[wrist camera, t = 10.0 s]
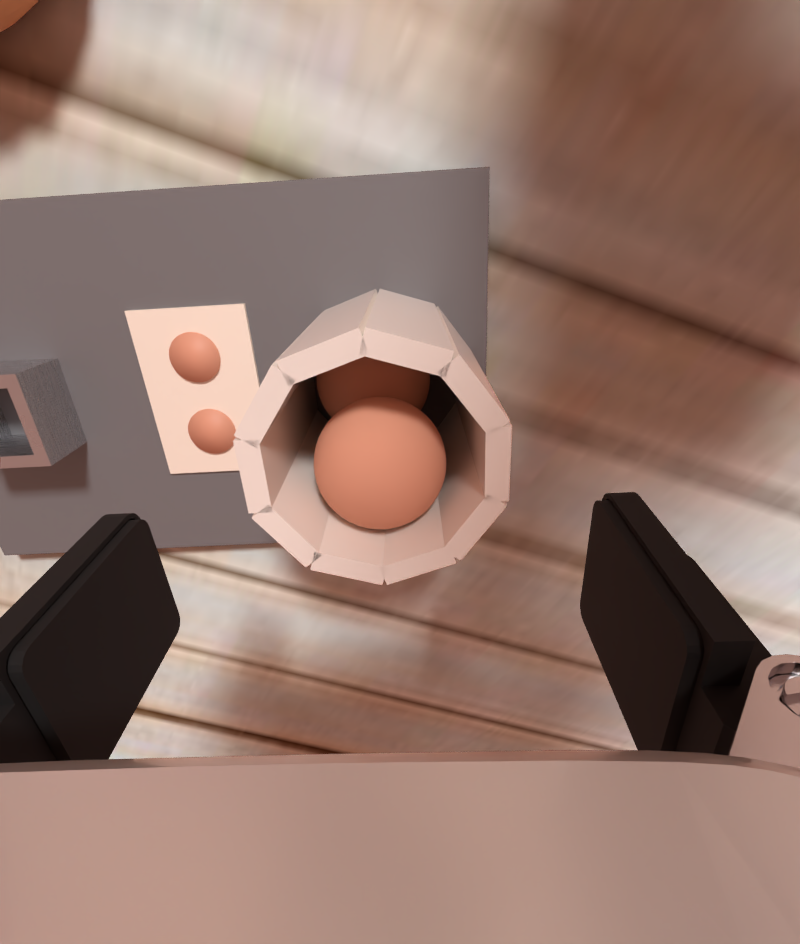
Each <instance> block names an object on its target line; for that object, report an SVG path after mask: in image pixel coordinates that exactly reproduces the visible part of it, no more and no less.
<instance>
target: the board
mask: <svg viewBox="0 0 800 944" xmlns="http://www.w3.org/2000/svg"><path fill="white" fill-rule="evenodd" d="M488 224H489V167H481V168H466V169H451V170H436V171H421V172H407V173H392V174H377V175H362V176H347V177H333V178H318V179H303V180H288V181H273V182H258V183H244V184H229V185H214V186H199V187H184V188H169V189H155V190H140V191H125V192H110V193H95V194H80V195H66V196H51V197H36V198H21V199H6V200H0V361H16V360H33V359H50V358H58V360H59V363H60V366H61V369H62V372H63V374H64V377H65V380H66V383H67V386H68V389H69V391H70V394H71V397H72V400H73V403H74V406H75V409H76V411H77V414H78V417H79V420H80V423H81V426H82V428H83V431H84V434H85V437H86V440H87V442H86V443H85V444H83V445H82V446H80V447H79V448H77V449H76V450H74V451H73V452H71V453H70V454H68V455H67V456H65V457H64V458H62V459H61V460H59V461H58V462H57V463H55V464H54V465H52V466H42V467H22V468H2V469H0V547H1V549H2V551H3V553H4V555H22V554H44V553H66V552H67V551H68V550H69V549H70V548H71V547H72V546H73V545H74V544H75V543H76V542H77V541H78V540H79V539H80V538H81V537H82V536H83V535H84V534H85V533H86V532H87V531H88V530H89V529H90V528H91V527H92V526H93V525H94V524H95V523H96V522H97V521H98V520H99V519H100V518H101V517H102V516H104V515H106V514H123V513H135V514H137V515H138V516H139V517H140V519H143V520H145V521H146V522H147V523H148V525H149V527H150V530H151V533H152V536H153V539H154V542H155V545H156V548H174V547H196V546H218V545H240V544H261V543H278V542H277V541H276V540H275V539H274V538H273V537H272V536H270V535H269V534H268V533H267V532H266V531H265V530H264V529H263V528H262V527H261V526H260V525H258V524H257V523H256V522H255V521H254V520H253V519H252V516H253V514H254V513H248V508H247V504H246V499H245V494H244V490H243V485H242V481H241V476H240V471H239V467H238V462H237V458H236V453H235V448H234V444H233V440H234V439H235V438H236V437H235V436H234V434H235V432H236V430H237V428H238V426H239V424H240V423H241V421H242V419H243V417H244V415H245V413H246V411H247V410H248V408H249V406H250V404H251V402H252V400H253V398H254V396H255V395H256V393H257V391H258V389H259V387H260V385H261V383H262V381H263V380H264V378H265V376H266V374H267V372H268V370H269V368H270V367H271V365H272V364H273V363H274V362H275V361H276V360H277V359H278V358H279V357H280V355H281V354H282V353H283V352H284V351H285V350H286V349H287V348H288V347H289V346H290V345H291V344H292V343H293V342H294V341H295V340H296V339H297V338H298V337H299V336H300V335H301V334H302V333H303V332H304V330H305V329H306V328H307V327H308V326H309V325H310V324H311V323H312V322H313V321H314V320H315V319H316V318H317V317H318V316H319V315H320V314H321V313H322V312H323V311H324V310H326V309H328V308H331V307H333V306H336V305H338V304H341V303H343V302H345V301H348V300H350V299H353V298H355V297H357V296H360V295H362V294H365V293H367V292H369V291H372V290H374V289H376V290H377V293H378V292H379V290H380V289H383V290H387V291H391V292H394V293H398V294H401V295H405V296H409V297H412V298H416V299H419V300H423V301H427V302H430V303H434V304H435V306H436V307H437V306H438V307H439V308H440V310H441V311H442V312H443V313H444V315H445V316H446V317H447V319H448V320H449V321H450V323H451V324H452V325H453V327H454V328H455V329H456V331H457V332H458V333H459V335H460V336H461V337H462V339H463V340H464V341H465V343H466V344H467V345H468V347H469V348H470V349H471V351H472V353H473V355H474V356H475V358H476V360H477V362H478V364H479V365H480V367H481V369H482V371H483V373H484V374H485V376H486V347H487V285H488ZM429 374H430V373H429ZM313 379H314V386H315V394H316V401H317V408H318V411H319V412H320V413H321V414H322V415H323V416H324V417H325V418H326V419H327V420H328V421H329V420H330V419H331V418H332V417H331V416H330V415H329V414H328V412H327V411H326V409H325V408H324V406H323V404H322V402H321V400H320V397H319V393H318V389H317V375H316V376H313ZM455 403H456V395H455V394H454V392H453V391H452V390H451V389H450V387H449V386H448V385H447V384H446V382H445V381H444V380H443V379H442V377H441V376H438V375H434V374H430V386H429V391H428V395H427V399H426V401H425V403H424V406H423V407H422V409H421V411H422V412H423V413H424V414H425V415H426V416H427V417H428V418H429V419H430V420H431V421H432V422H433V424H434V425H435V427H436V428H438V426H439V425H440V424H441V422H442V421H443V420H444V418H445V417H446V415H447V414H448V413H449V411H450V410H451V408H452V407H453V406H454V404H455ZM0 407H1V410H2V412H3V415H4V417H5V419H6V422H7V424H8V426H9V429H10V431H11V434H12V435H19V434H25V431H24V429H23V426H22V424H21V421H20V419H19V416H18V414H17V411H16V409H15V406H14V404H13V402H12V399H11V397H10V394H9V392H8V389H7V388H4V389H0Z"/></svg>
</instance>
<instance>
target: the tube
mask: <svg viewBox="0 0 800 944" xmlns="http://www.w3.org/2000/svg"><path fill="white" fill-rule="evenodd" d="M364 356H365V357H369V358H373V359H377V360H381V361H384V362H388V363H392V364H396V365H400V366H404V367H407V368H411V369H415V370H419V371H423V372H426V373H430V374H434V375H438V376H441V377H442V379H443V380H444V381H445V382H446V384H447V385H448V386H449V387H450V389H451V390H452V391H453V392H454V394H455V395H456V403H455V404H454V406H453V407H452V408H451V410H450V411H449V413H448V414H447V415H446V417H445V418H444V420H443V421H442V422H441V424H440V425H439V426H438V428H437V430H438V432H439V434H440V435H441V438H442V441H443V443H444V447H445V452H446V474H445V479H444V482H443V486H442V488H441V490H440V493H439V495H438V496H437V498H436V500H435V501H434V503H433V504H432V505H431V506H430V507H429V508H428V510H427V511H425V512H424V513H423V514H422V515H421V516H419V517H418V518H416V519H415V520H413V521H412V522H410V523H407V524H405V525H403V526H400V527H396V528H391V529H369V528H364V527H361V526H358V525H355V524H353V523H351V522H349V521H347V520H345V519H344V518H342V517H341V516H339V515H338V514H337V513H336V512H335V511H334V510H333V509H332V508H331V507H330V506H329V505H328V504H327V502H326V501H325V499H324V498H323V496H322V494H321V492H320V490H319V488H318V485H317V482H316V478H315V474H314V453H315V447H316V444H317V441H318V438H319V436H320V434H321V431H322V430H323V428H324V427H325V425H326V424H327V422H328V420H327V419H326V418H325V417H324V416H323V415H322V414H321V413H320V412H319V411H318V408H317V401H316V394H315V386H314V379H313V376H316V375H318V374H321V373H323V372H326V371H328V370H331V369H334V368H336V367H339V366H341V365H344V364H346V363H349V362H351V361H354V360H356V359H359V358H362V357H364ZM234 436H235V437H236V438H235V439H234V440H233V444H234V448H235V453H236V458H237V462H238V467H239V471H240V476H241V481H242V485H243V490H244V494H245V499H246V504H247V508H248V513H254V514H253V516H252V519H253V520H254V521H255V522H256V523H257V524H258V525H260V526H261V527H262V528H263V529H264V530H265V531H266V532H267V533H268V534H269V535H270V536H272V537H273V538H274V539H275V540H276V541H277V542H278V543H279V544H280V545H281V546H283V547H284V548H285V549H286V550H287V551H288V552H289V553H290V554H291V555H292V556H293V557H295V558H296V559H297V560H298V561H299V562H300V563H301V564H302V565H303V566H304V567H307V566H309V565H310V564H311V563H312V564H311V569H310V570H313V571H318V572H322V573H327V574H332V575H337V576H341V577H346V578H351V579H355V580H360V581H365V582H369V583H374V584H379V585H382V584H383V581H384V579H385V581H386V583H387V585H389V584H392V583H395V582H399V581H402V580H405V579H408V578H411V577H415V576H418V575H421V574H424V573H427V572H431V571H434V570H437V569H440V568H443V567H447V566H450V565H453V564H456V558H457V559H459V560H462V559H463V558H464V556H465V555H466V554H467V553H468V552H469V550H470V549H471V548H472V547H473V546H474V545H475V543H476V542H477V541H478V540H479V539H480V537H481V536H482V535H483V534H484V533H485V531H486V530H487V529H488V528H489V527H490V526H491V524H492V523H493V522H494V521H495V520H496V518H497V517H498V516H499V515H500V514H501V513H502V511H503V510H504V509H505V508H506V507H507V504H506V501H509V491H510V467H511V442H512V425H511V423H510V419H509V417H508V416H507V414H506V412H505V410H504V409H503V407H502V405H501V403H500V401H499V400H498V398H497V396H496V394H495V392H494V391H493V389H492V387H491V385H490V383H489V382H488V380H487V378H486V376H485V374H484V373H483V371H482V369H481V367H480V365H479V364H478V362H477V360H476V358H475V356H474V355H473V353H472V351H471V349H470V348H469V347H468V345H467V344H466V343H465V341H464V340H463V339H462V337H461V336H460V335H459V333H458V332H457V331H456V329H455V328H454V327H453V325H452V324H451V323H450V321H449V320H448V319H447V317H446V316H445V315H444V313H443V312H442V311H441V310H440V308H439V307H438V306H437V307H436V306H435V304H434V303H430V302H427V301H423V300H419V299H416V298H412V297H409V296H405V295H401V294H398V293H394V292H391V291H387V290H383V289H380V290H379V292H378V293H377V290H376V289H374V290H372V291H369V292H367V293H365V294H362V295H360V296H357V297H355V298H353V299H350V300H348V301H345V302H343V303H341V304H338V305H336V306H333V307H331V308H328V309H326V310H324V311H323V312H322V313H321V314H320V315H319V316H318V317H317V318H316V319H315V320H314V321H313V322H312V323H311V324H310V325H309V326H308V327H307V328H306V329H305V330H304V332H303V333H302V334H301V335H300V336H299V337H298V338H297V339H296V340H295V341H294V342H293V343H292V344H291V345H290V346H289V347H288V348H287V349H286V350H285V351H284V352H283V353H282V354H281V355H280V357H279V358H278V359H277V360H276V361H275V362H274V363H273V364H272V365H271V367H270V368H269V370H268V372H267V374H266V376H265V378H264V380H263V381H262V383H261V385H260V387H259V389H258V391H257V393H256V395H255V396H254V398H253V400H252V402H251V404H250V406H249V408H248V410H247V411H246V413H245V415H244V417H243V419H242V421H241V423H240V424H239V426H238V428H237V430H236V432H235V434H234Z"/></svg>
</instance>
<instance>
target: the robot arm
mask: <svg viewBox="0 0 800 944" xmlns="http://www.w3.org/2000/svg"><path fill="white" fill-rule="evenodd" d="M580 609H581V615H582V619H583V622H584V624H585V627H586V629H587V631H588V634H589V636H590V638H591V641H592V643H593V645H594V648H595V650H596V652H597V655H598V657H599V660H600V662H601V664H602V667H603V669H604V671H605V674H606V676H607V678H608V681H609V683H610V686H611V688H612V690H613V693H614V695H615V697H616V700H617V702H618V704H619V707H620V709H621V712H622V714H623V716H624V719H625V721H626V723H627V726H628V728H629V730H630V733H631V735H632V738H633V740H634V742H635V745H636V747H637V749H638V750H540V751H475V752H411V753H358V754H309V755H263V756H218V757H181V758H144V759H109V757H110V755H111V753H112V752H113V750H114V748H115V746H116V744H117V742H118V741H119V739H120V737H121V735H122V733H123V731H124V730H125V728H126V726H127V724H128V722H129V721H130V719H131V717H132V715H133V713H134V711H135V710H136V708H137V706H138V704H139V702H140V700H141V699H142V697H143V695H144V693H145V691H146V690H147V688H148V686H149V684H150V682H151V680H152V679H153V677H154V675H155V673H156V671H157V670H158V668H159V666H160V664H161V662H162V660H163V659H164V657H165V655H166V653H167V651H168V649H169V648H170V646H171V644H172V642H173V640H174V639H175V637H176V635H177V633H178V630H179V627H180V616H179V612H178V609H177V607H176V604H175V601H174V598H173V595H172V592H171V589H170V586H169V583H168V580H167V577H166V574H165V571H164V568H163V565H162V562H161V559H160V556H159V554H158V551H157V548H156V545H155V542H154V539H153V536H152V533H151V530H150V527H149V525H148V523H147V522H146V521H145V520H143V519H140V517H139V516H138V515H137V514H135V513H123V514H106V515H104V516H102V517H101V518H100V519H99V520H98V521H97V522H96V523H95V524H94V525H93V526H92V527H91V528H90V529H89V530H88V531H87V532H86V533H85V534H84V535H83V536H82V537H81V538H80V539H79V540H78V541H77V542H76V543H75V544H74V545H73V546H72V547H71V548H70V549H69V550H68V551H67V552H66V553H65V554H64V555H63V556H62V557H61V558H60V559H59V560H58V561H57V562H56V563H55V564H54V565H53V566H52V567H51V568H50V569H49V570H48V571H47V572H46V573H45V574H44V575H43V576H42V577H41V578H40V579H39V580H38V581H37V582H36V583H35V584H34V585H33V586H32V587H31V588H30V589H29V590H28V591H27V592H26V593H25V594H24V595H23V596H22V597H21V598H20V599H19V600H18V601H17V602H16V603H15V604H14V605H13V606H12V607H11V608H10V609H9V610H8V611H7V612H6V613H5V614H4V615H3V616H2V617H1V618H0V944H800V656H797V655H789V654H785V655H775V656H772V655H771V654H770V653H769V652H768V650H767V649H766V648H765V647H764V646H763V644H762V643H761V642H760V641H759V639H758V638H757V637H756V636H755V635H754V633H753V632H752V631H751V630H750V628H749V627H748V626H747V625H746V623H745V622H744V621H743V620H742V619H741V617H740V616H739V615H738V614H737V612H736V611H735V610H734V609H733V607H732V606H731V605H730V604H729V603H728V601H727V600H726V599H725V598H724V596H723V595H722V594H721V593H720V591H719V590H718V589H717V588H716V587H715V585H714V584H713V583H712V582H711V580H710V579H709V578H708V577H707V576H706V574H705V573H704V572H703V571H702V569H701V568H700V567H699V566H698V564H697V563H696V562H695V561H694V560H693V559H692V558H691V557H690V556H688V555H687V554H686V553H685V552H684V551H683V550H682V548H681V547H680V546H679V545H678V543H677V542H676V541H675V540H674V538H673V537H672V536H671V535H670V533H669V532H668V531H667V530H666V528H665V527H664V526H663V525H662V523H661V522H660V521H659V520H658V518H657V517H656V516H655V515H654V514H653V512H652V511H651V510H650V509H649V507H648V506H647V505H646V504H645V502H644V501H643V500H642V499H641V497H640V496H639V495H638V494H637V493H635V492H627V493H606V494H605V495H604V497H603V499H602V501H596V502H595V503H594V506H593V513H592V520H591V527H590V534H589V542H588V549H587V556H586V564H585V571H584V578H583V586H582V593H581V600H580Z"/></svg>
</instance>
